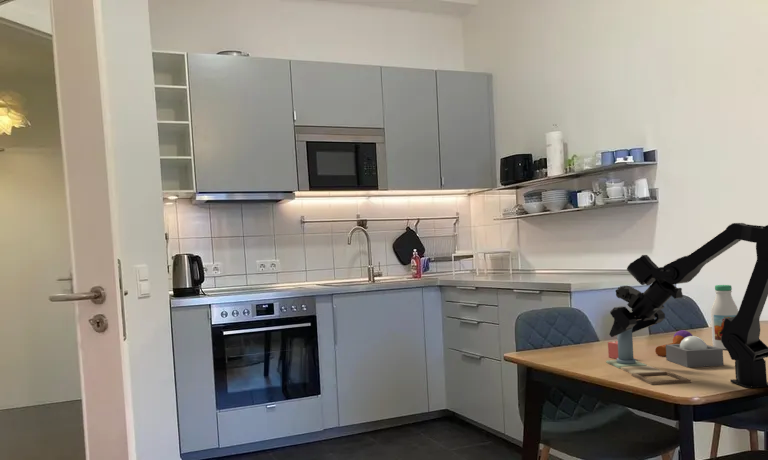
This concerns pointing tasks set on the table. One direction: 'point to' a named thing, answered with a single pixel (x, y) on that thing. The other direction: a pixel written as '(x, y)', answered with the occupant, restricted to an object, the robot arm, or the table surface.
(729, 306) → the milk bottle
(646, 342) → the table surface
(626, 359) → the pawn
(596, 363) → the table surface
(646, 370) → the game track
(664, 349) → the maraca
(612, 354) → the red block
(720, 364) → the grey open box
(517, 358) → the table surface
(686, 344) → the dome
